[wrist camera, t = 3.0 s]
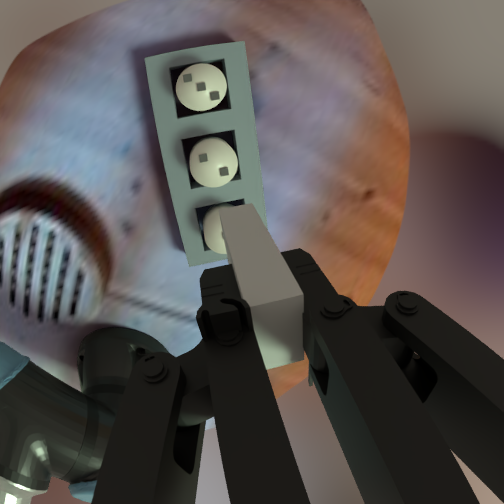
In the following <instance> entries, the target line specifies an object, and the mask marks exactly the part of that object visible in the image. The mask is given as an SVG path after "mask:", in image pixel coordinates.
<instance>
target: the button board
mask: <svg viewBox="0 0 504 504" xmlns="http://www.w3.org/2000/svg"><path fill="white" fill-rule="evenodd" d="M219 61H222V67H223V74H224V77H225V79H226V83H227V89H226V95H227V102H228V108H226V109H219V110H213V111H208V112H202V113H197V114H192V115H187V116H182V117H178V114H177V108H176V102H175V96H174V90H173V84H172V78H171V71H170V70H173V69H178V68H183V67H188V66H192V65H195V64H201V63H202V64H206V63H212V62H219ZM145 64H146V71H147V77H148V83H149V89H150V95H151V101H152V106H153V112H154V117H155V122H156V128H157V133H158V138H159V143H160V148H161V152H162V157H163V162H164V166H165V171H166V175H167V180H168V184H169V189H170V193H171V197H172V201H173V206H174V210H175V214H176V218H177V222H178V226H179V230H180V234H181V238H182V241H183V245H184V249H185V253H186V256H187V260H188V264H189V267H191V266H196V265H201V264H205V263H210V262H215V261H220V260H224V259H228V258H227V254H220V253H216V252H214V251H213V250H211V249H210V248H209V247H208V246H207V244H206V242H205V241H203V238H202V234H201V229H200V225H199V220H198V216H197V211H196V208H198V207H203V206H208V205H213V204H218V203H223V202H228V201H233V200H238V199H242V205H245V204H250V203H252V204H253V206H254V207H255V209H256V211H257V213H258V214H259V216H260V218H261V219H262V221H263V223H264V225H265V226H266V228H267V219H266V210H265V201H264V193H263V184H262V175H261V167H260V158H259V150H258V142H257V134H256V126H255V118H254V110H253V102H252V94H251V86H250V79H249V71H248V64H247V57H246V49H245V42H244V41H241V42H231V43H223V44H215V45H208V46H201V47H195V48H189V49H184V50H178V51H173V52H169V53H164V54H159V55H155V56H151V57H147V58H145ZM229 130H232V137H233V144H234V151H235V154H236V156H237V160H238V167H237V172H238V173H236V174H235V175H234V177H233V178H232V179H231V180H230V181H229V182H228V183H227V184H225V185H223V186H220V187H206V186H203V185H201V184H200V183H198V182H197V181H195V182H190V177H189V172H188V167H187V162H186V157H185V152H184V147H183V141H182V139H186V138H191V137H196V136H201V135H206V134H212V133H217V132H223V131H229ZM267 230H268V229H267Z"/></svg>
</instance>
